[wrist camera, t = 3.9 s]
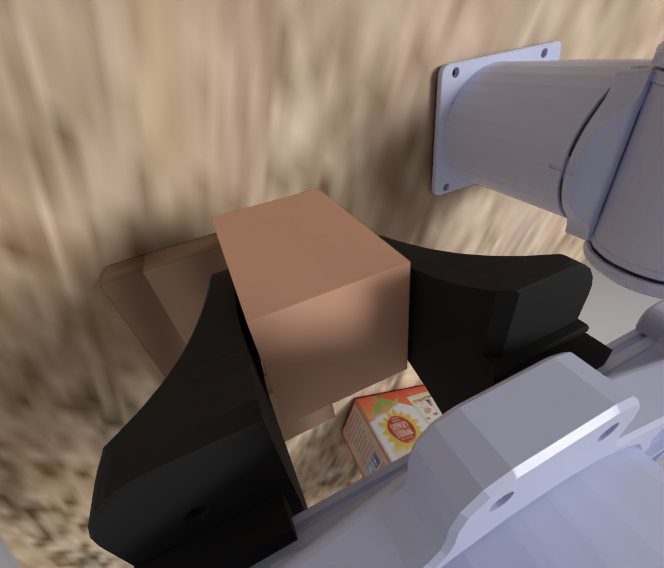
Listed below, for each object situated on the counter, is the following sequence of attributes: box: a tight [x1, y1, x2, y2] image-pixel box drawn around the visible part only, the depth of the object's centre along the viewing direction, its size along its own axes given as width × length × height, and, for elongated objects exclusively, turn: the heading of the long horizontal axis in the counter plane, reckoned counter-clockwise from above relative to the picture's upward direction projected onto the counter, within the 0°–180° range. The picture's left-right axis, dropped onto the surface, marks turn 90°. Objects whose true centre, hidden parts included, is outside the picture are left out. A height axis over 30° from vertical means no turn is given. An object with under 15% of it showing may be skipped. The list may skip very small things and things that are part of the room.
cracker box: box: [341, 385, 442, 478], centre depth 30 cm, size 14×6×21 cm, turn 75°
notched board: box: [100, 233, 335, 441], centre depth 24 cm, size 10×20×2 cm, turn 9°
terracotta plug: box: [211, 188, 410, 425], centre depth 11 cm, size 4×4×6 cm
